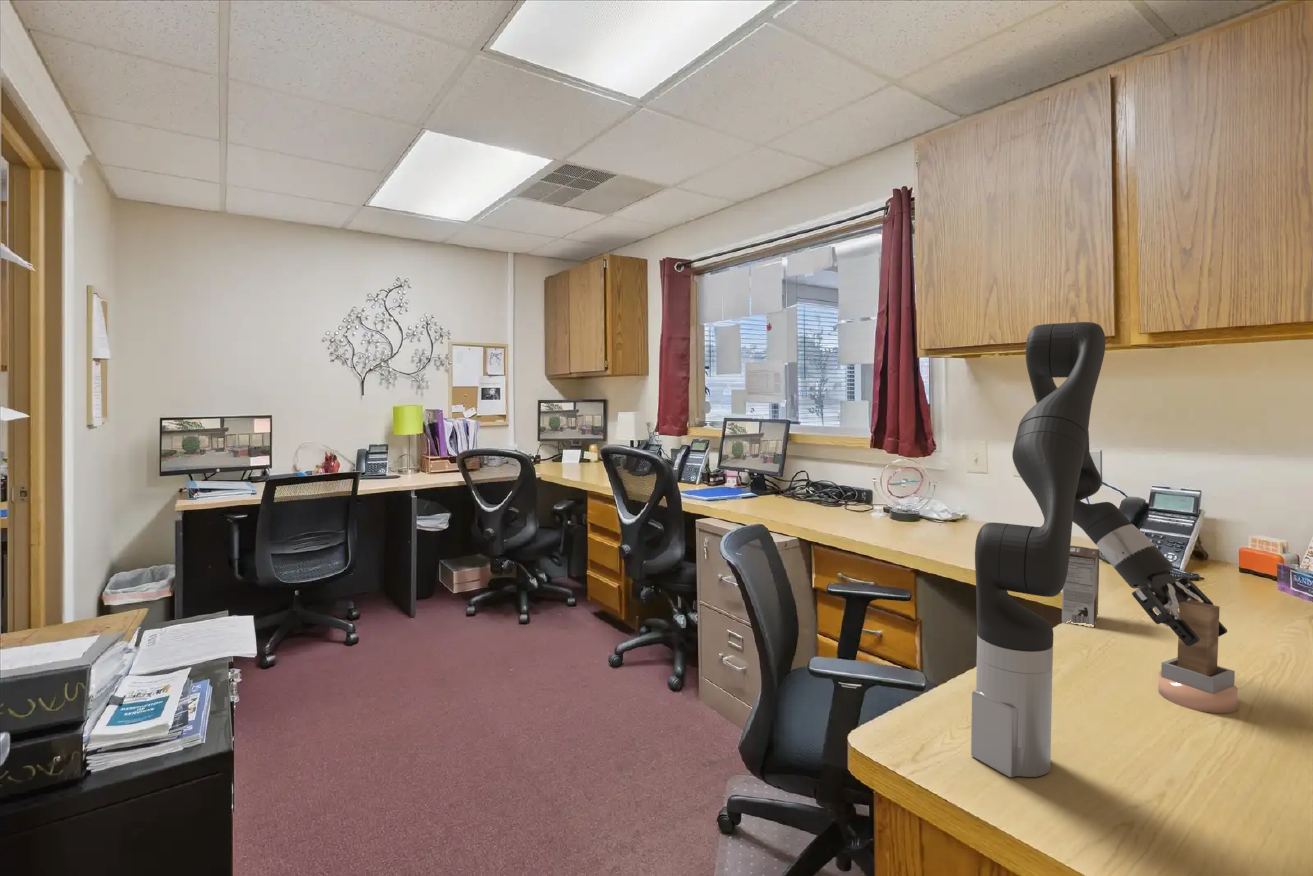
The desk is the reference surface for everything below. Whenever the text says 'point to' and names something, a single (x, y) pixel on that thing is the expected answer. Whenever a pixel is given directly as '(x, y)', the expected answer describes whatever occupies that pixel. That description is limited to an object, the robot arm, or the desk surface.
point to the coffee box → (1081, 586)
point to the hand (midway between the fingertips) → (1208, 639)
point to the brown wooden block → (1207, 629)
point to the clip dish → (1198, 688)
